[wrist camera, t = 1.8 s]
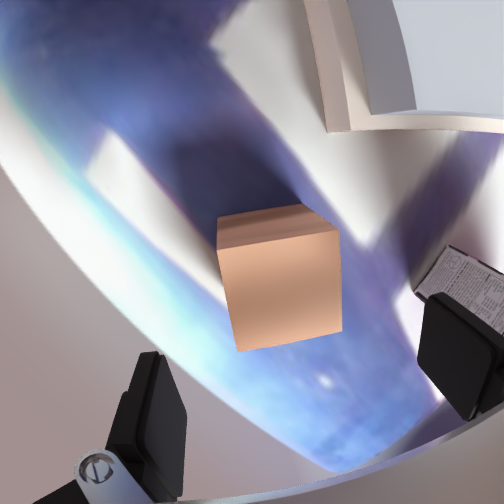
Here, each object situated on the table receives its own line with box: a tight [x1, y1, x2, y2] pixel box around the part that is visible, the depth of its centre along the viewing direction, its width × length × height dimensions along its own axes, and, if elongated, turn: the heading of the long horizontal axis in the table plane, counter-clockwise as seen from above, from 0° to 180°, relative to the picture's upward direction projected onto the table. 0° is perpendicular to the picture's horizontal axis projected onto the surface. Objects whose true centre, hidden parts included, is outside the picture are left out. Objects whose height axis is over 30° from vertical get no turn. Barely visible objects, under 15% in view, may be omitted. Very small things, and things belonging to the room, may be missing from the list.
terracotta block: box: [217, 203, 342, 352], centre depth 16 cm, size 5×5×6 cm
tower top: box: [346, 0, 504, 120], centre depth 10 cm, size 11×11×4 cm
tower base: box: [303, 0, 504, 133], centre depth 14 cm, size 13×13×4 cm
